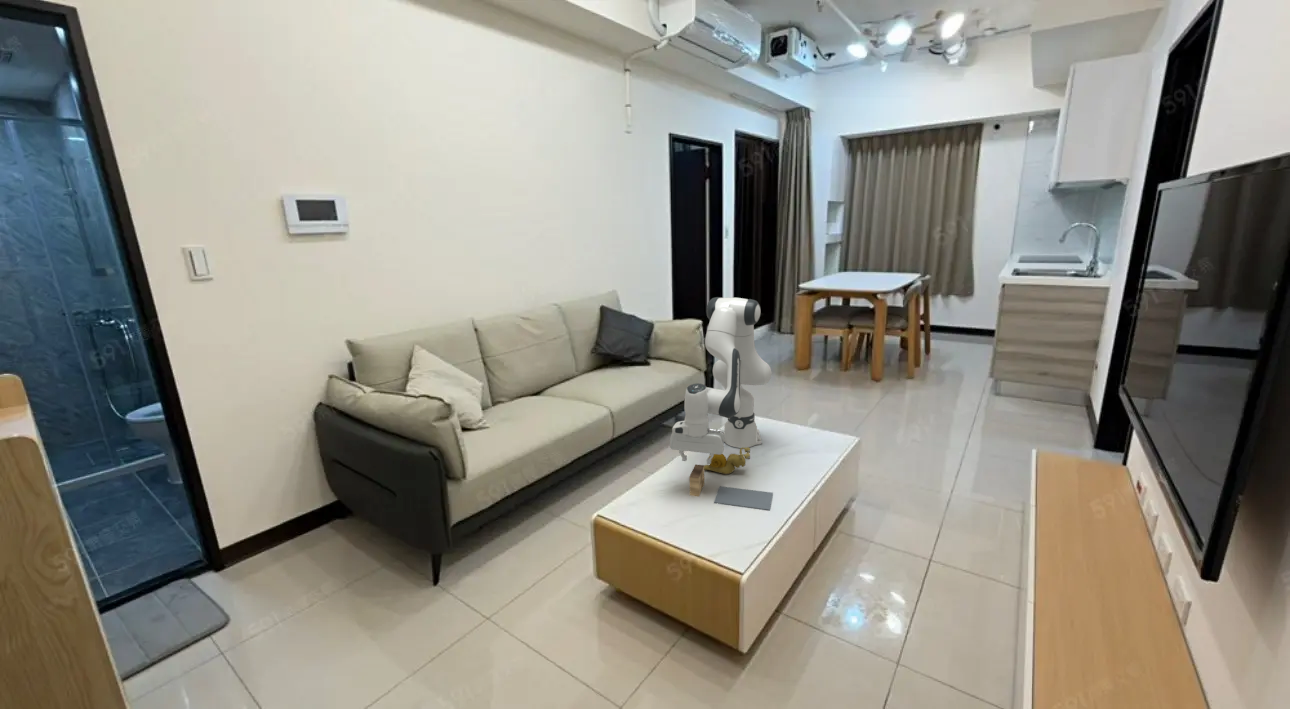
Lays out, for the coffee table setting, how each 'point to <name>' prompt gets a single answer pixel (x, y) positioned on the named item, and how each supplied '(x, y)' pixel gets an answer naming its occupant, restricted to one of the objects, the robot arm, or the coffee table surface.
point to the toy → (728, 462)
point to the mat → (744, 498)
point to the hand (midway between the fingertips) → (696, 461)
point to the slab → (696, 480)
